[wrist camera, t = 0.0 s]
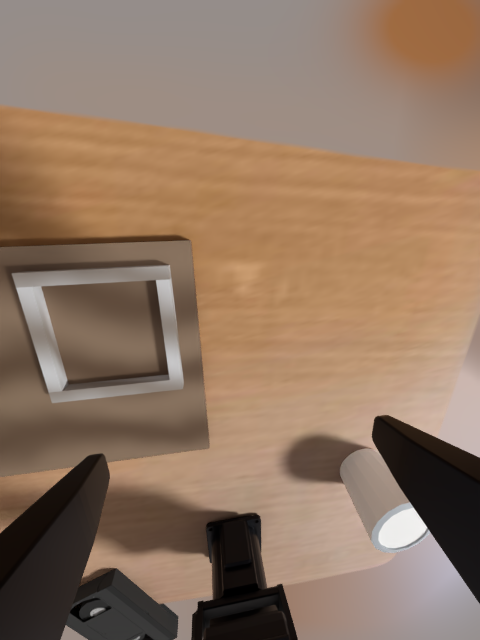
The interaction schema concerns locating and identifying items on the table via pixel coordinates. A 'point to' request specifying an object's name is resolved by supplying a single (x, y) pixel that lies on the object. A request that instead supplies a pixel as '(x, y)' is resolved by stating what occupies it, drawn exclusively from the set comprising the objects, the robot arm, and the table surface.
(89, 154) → the table surface
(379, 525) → the white cup
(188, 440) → the board
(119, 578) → the vhs tape
